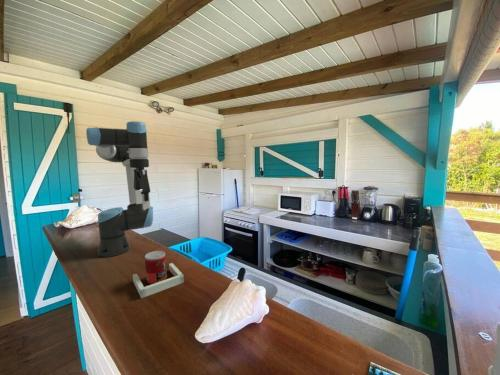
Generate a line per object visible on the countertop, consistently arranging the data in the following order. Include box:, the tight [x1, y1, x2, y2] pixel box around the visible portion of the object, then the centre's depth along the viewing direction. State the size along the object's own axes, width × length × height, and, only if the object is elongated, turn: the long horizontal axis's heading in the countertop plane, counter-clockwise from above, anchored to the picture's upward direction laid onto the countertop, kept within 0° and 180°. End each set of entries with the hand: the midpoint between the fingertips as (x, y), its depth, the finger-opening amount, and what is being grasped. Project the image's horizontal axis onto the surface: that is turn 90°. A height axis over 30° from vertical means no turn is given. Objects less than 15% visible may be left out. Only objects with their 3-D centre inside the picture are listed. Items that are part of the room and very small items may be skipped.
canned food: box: [144, 250, 168, 285], centre depth 89 cm, size 8×8×11 cm
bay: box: [132, 262, 185, 299], centre depth 88 cm, size 14×16×3 cm
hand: (142, 206), depth 98 cm, fingers open, 13 cm apart
